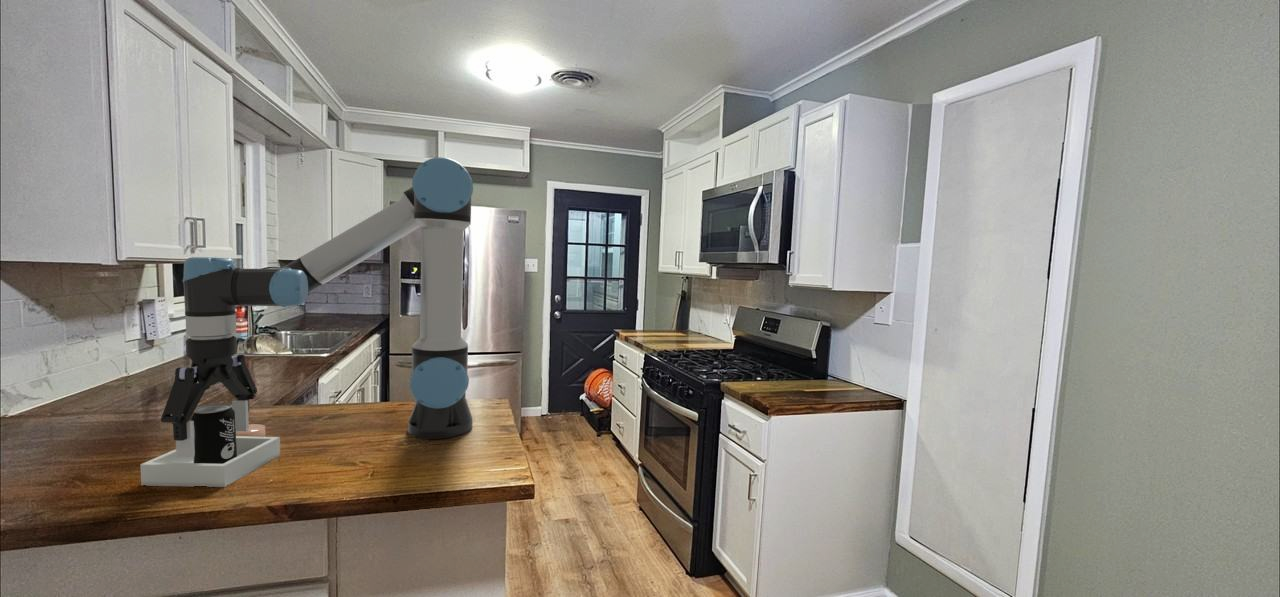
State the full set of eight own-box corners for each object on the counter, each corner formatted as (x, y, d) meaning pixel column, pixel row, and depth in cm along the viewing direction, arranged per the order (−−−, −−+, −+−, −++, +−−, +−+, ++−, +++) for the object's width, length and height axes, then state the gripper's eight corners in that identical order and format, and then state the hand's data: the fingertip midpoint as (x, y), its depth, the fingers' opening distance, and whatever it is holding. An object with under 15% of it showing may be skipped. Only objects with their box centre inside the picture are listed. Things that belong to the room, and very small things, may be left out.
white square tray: (280, 455, 108) (279, 437, 108) (224, 487, 93) (224, 466, 93) (208, 453, 108) (207, 435, 107) (141, 485, 93) (140, 464, 92)
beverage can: (212, 475, 96) (209, 414, 95) (185, 471, 98) (181, 410, 97) (245, 461, 103) (243, 404, 102) (219, 457, 104) (216, 401, 103)
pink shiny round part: (273, 437, 118) (273, 424, 118) (248, 450, 110) (248, 436, 110) (238, 436, 118) (238, 423, 118) (210, 449, 110) (210, 435, 110)
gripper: (240, 327, 110) (243, 421, 112) (129, 347, 86) (134, 468, 87) (275, 328, 111) (277, 422, 112) (174, 348, 86) (179, 469, 88)
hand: (215, 442), depth 100 cm, fingers open, 13 cm apart
